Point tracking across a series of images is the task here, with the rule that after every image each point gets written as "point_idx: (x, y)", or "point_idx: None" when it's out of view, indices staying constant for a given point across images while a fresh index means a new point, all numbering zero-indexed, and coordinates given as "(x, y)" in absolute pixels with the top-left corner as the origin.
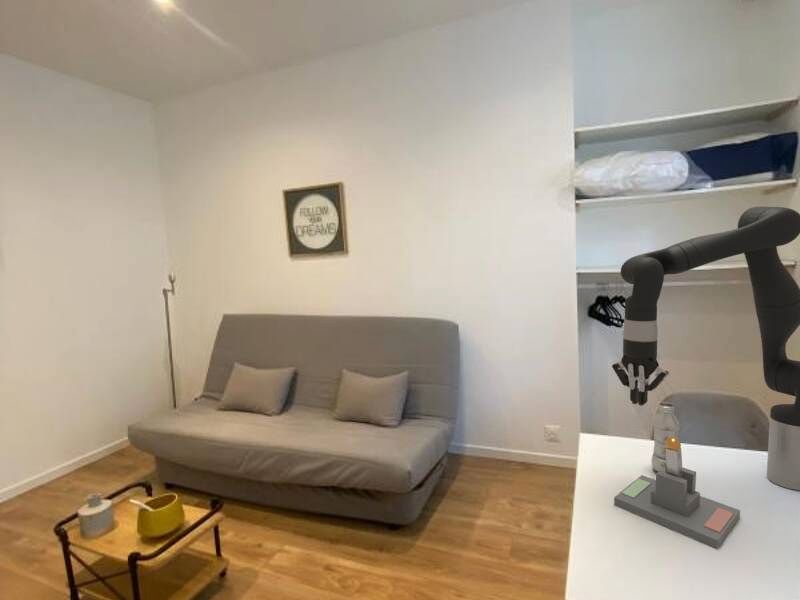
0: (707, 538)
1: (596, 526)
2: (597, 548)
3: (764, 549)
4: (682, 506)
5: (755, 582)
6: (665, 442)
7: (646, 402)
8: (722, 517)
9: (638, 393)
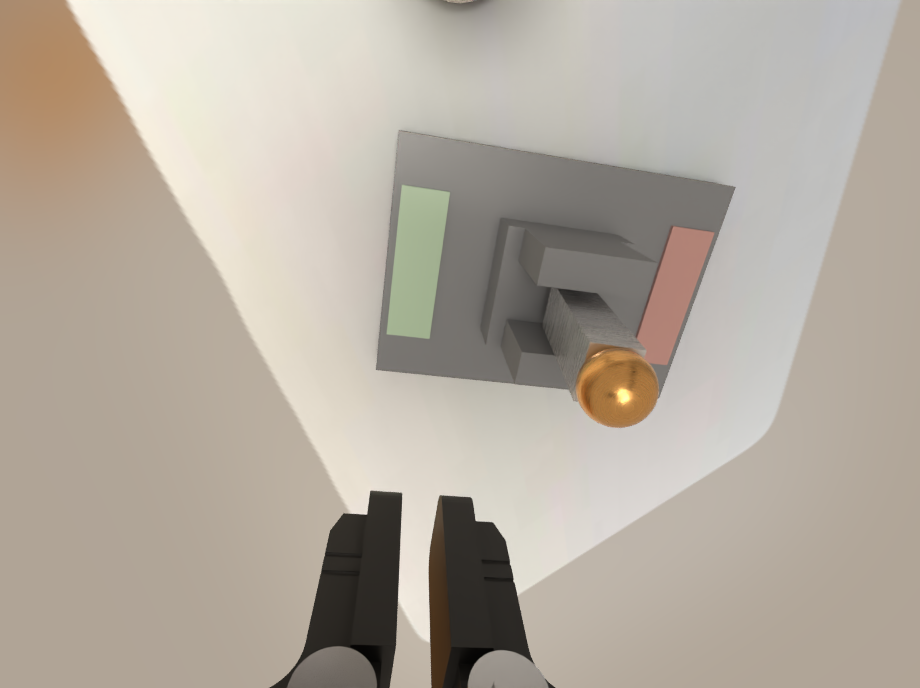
0: None
1: (381, 478)
2: (416, 541)
3: (751, 314)
4: None
5: (709, 447)
6: (580, 403)
7: (493, 528)
8: (680, 281)
9: (397, 590)
